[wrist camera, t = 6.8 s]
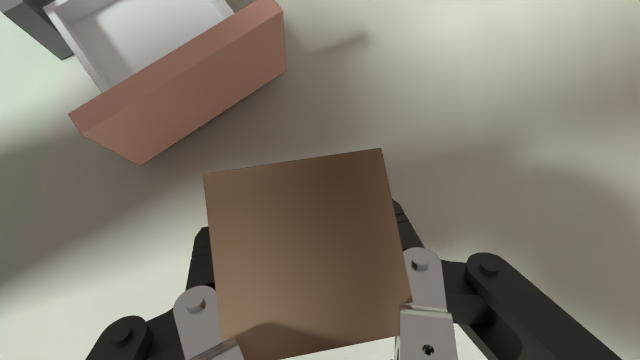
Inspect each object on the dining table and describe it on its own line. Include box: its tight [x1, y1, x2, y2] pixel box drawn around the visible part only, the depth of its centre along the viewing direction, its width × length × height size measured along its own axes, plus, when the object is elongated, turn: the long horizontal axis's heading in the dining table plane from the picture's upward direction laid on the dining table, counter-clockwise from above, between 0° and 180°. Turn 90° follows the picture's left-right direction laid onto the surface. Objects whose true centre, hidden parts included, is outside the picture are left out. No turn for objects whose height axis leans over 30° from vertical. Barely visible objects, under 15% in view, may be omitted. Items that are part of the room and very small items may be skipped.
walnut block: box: [203, 148, 413, 360], centre depth 15 cm, size 5×5×12 cm
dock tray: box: [43, 0, 286, 166], centre depth 20 cm, size 10×11×6 cm
